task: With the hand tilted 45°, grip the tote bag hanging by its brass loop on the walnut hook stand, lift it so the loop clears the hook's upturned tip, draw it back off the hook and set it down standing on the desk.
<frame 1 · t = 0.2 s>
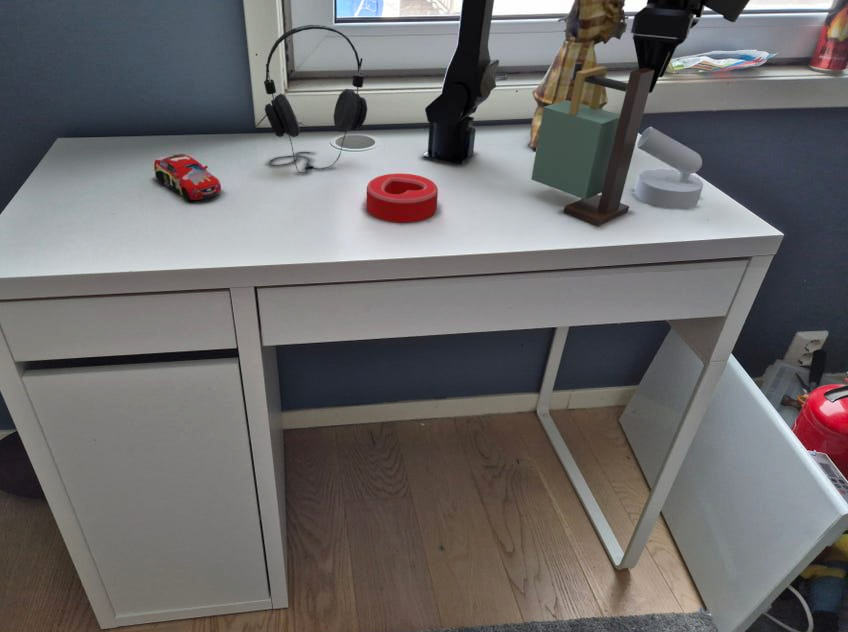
hand: (653, 84, 87), 15 cm above the table, tool pointing down, fingers open, 9 cm apart
hook stand: (565, 201, 92), on the table
race car: (188, 188, 95), on the table
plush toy: (560, 141, 113), on the table
grey spotlight lamp: (660, 197, 94), on the table
headphones: (314, 165, 103), on the table
decorative ornament: (401, 208, 90), on the table
tote bag: (568, 185, 91), point 2 cm above the table, touching hook stand
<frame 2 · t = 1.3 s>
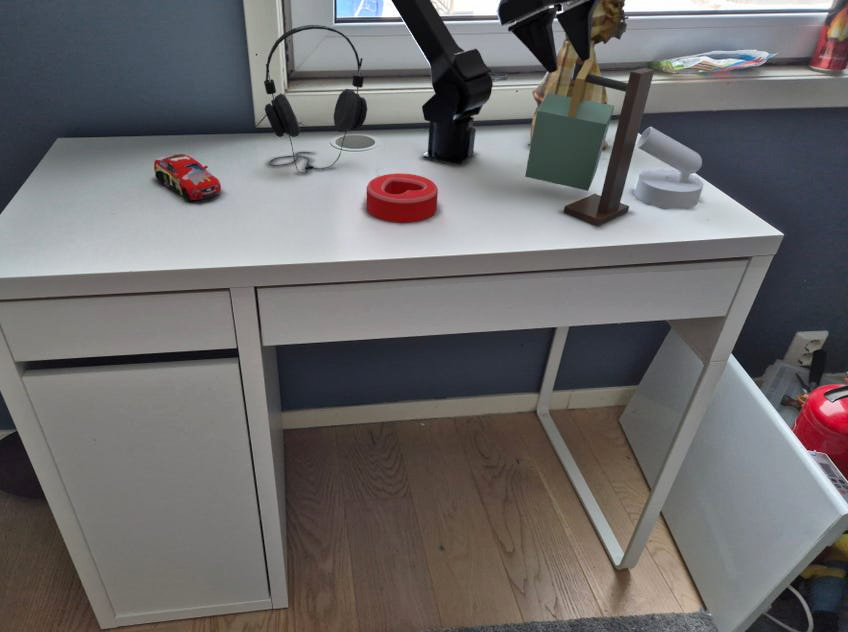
hand: (570, 65, 87), 17 cm above the table, tool tilted 30°, fingers open, 9 cm apart
tote bag: (560, 174, 93), point 3 cm above the table, tilted 12°, touching hook stand
everything else where it was.
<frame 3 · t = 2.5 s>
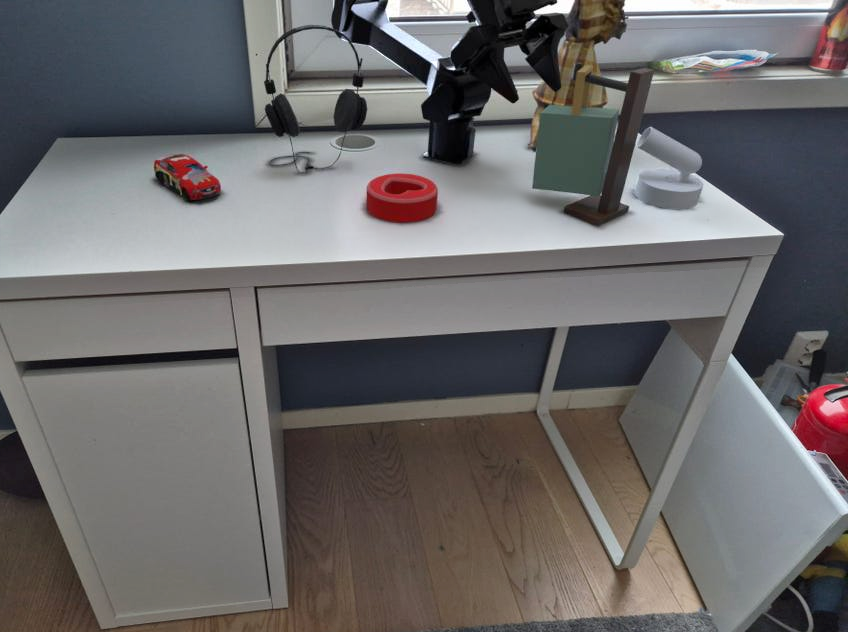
hand: (537, 95, 89), 13 cm above the table, tool tilted 45°, fingers open, 9 cm apart
tote bag: (569, 186, 90), point 3 cm above the table, tilted 5°, touching hook stand
everything else where it was.
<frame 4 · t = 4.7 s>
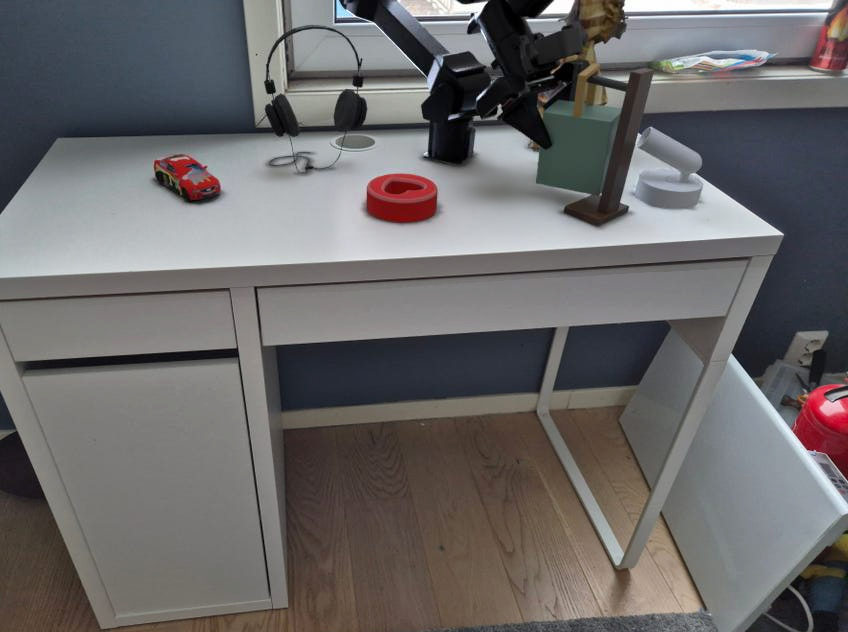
hand: (563, 143, 89), 8 cm above the table, tool tilted 45°, fingers closed on tote bag, 6 cm apart
tote bag: (573, 182, 91), point 2 cm above the table, tilted 5°, touching gripper, hook stand
everything else where it was.
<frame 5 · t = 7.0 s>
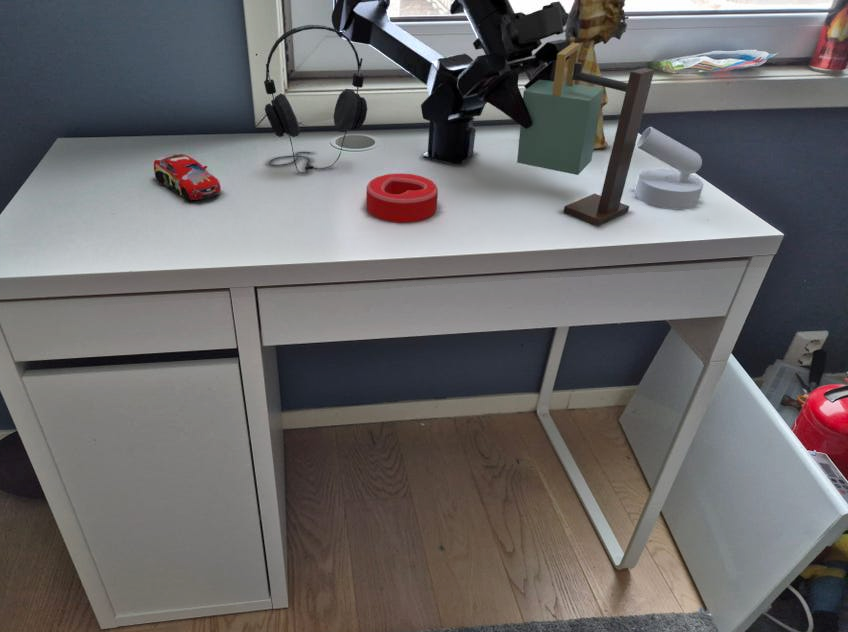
hand: (543, 122, 90), 10 cm above the table, tool tilted 45°, fingers closed on tote bag, 6 cm apart
tote bag: (554, 161, 93), point 4 cm above the table, tilted 5°, touching gripper
everything else where it was.
when the fingers open (6 cm above the table, at t = 9.3 s): tote bag stays where it is, on the table.
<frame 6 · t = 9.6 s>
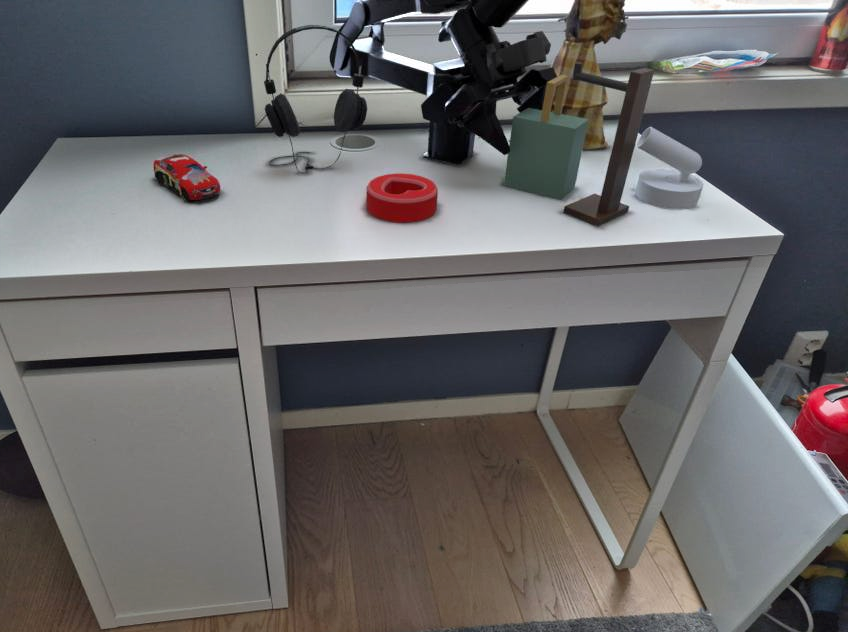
hand: (528, 146, 94), 6 cm above the table, tool tilted 45°, fingers open, 9 cm apart
tote bag: (538, 186, 96), on the table
everything else where it was.
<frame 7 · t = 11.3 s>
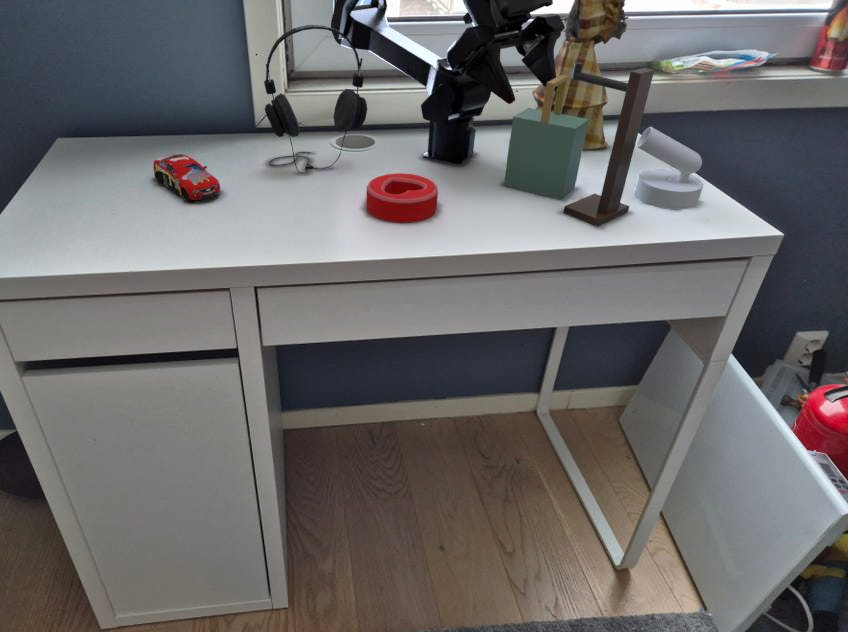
hand: (534, 96, 90), 13 cm above the table, tool tilted 45°, fingers open, 9 cm apart
nothing on the table moved.
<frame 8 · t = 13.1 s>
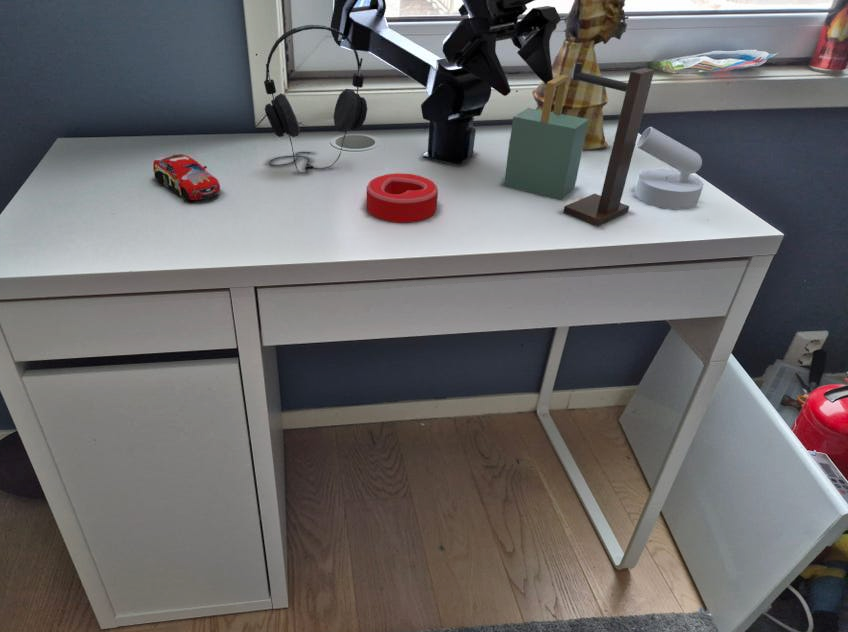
hand: (529, 88, 90), 13 cm above the table, tool tilted 45°, fingers open, 9 cm apart
nothing on the table moved.
at the end: tote bag on the table; tote bag touching table; tote bag tilted 0° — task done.
